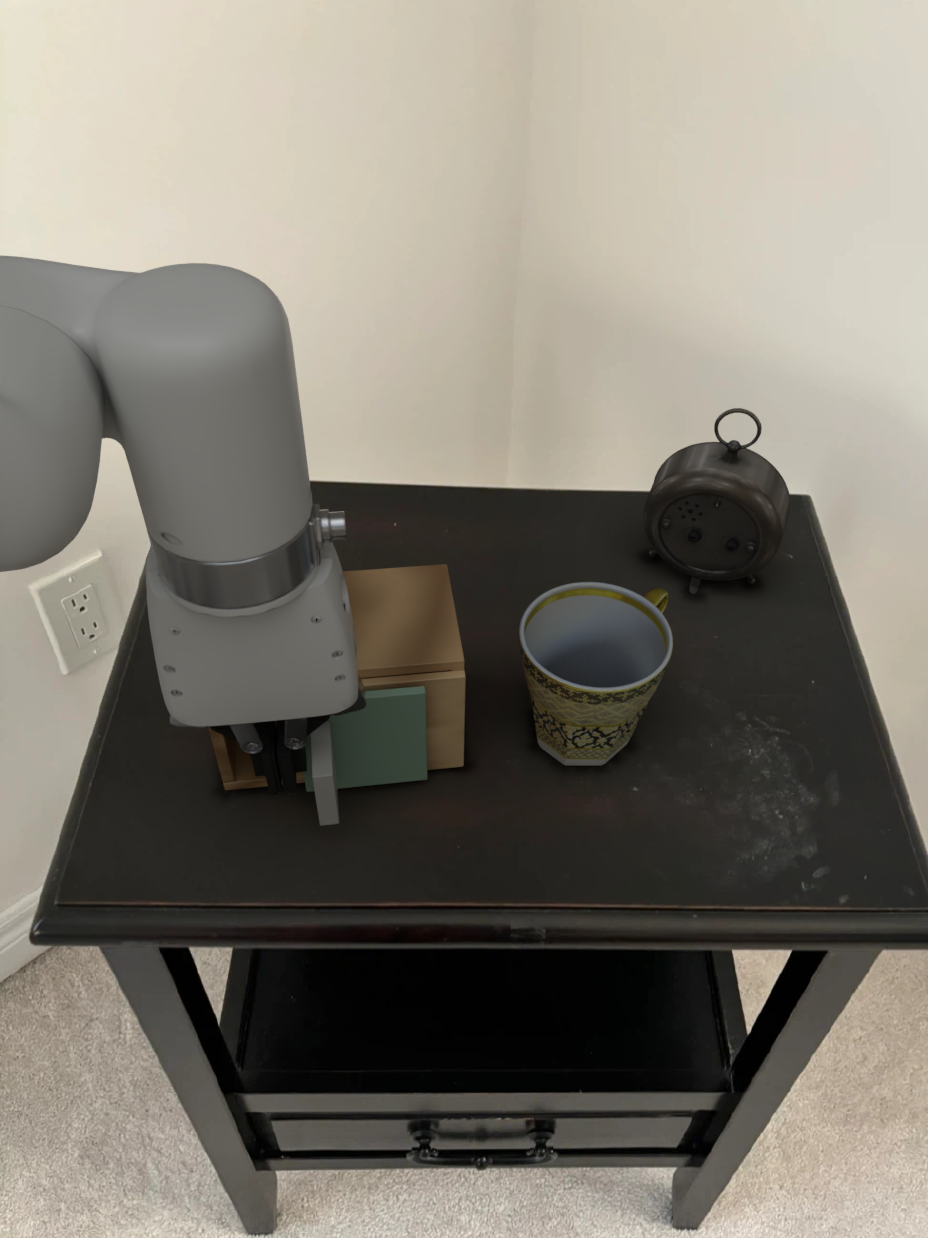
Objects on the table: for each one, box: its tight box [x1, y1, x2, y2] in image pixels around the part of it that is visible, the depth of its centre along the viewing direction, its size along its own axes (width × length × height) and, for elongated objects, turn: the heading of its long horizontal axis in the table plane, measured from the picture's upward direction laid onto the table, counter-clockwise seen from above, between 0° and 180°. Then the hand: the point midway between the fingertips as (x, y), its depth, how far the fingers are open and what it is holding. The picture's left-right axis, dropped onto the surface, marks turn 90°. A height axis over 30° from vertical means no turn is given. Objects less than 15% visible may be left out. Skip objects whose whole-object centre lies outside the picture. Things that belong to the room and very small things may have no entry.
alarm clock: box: [642, 407, 791, 595], centre depth 79 cm, size 11×5×16 cm, turn 71°
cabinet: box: [207, 563, 467, 791], centre depth 69 cm, size 16×10×11 cm, turn 99°
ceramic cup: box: [518, 581, 674, 767], centre depth 71 cm, size 13×10×10 cm
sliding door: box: [303, 686, 428, 826], centre depth 64 cm, size 8×5×9 cm, turn 99°
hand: (283, 775), depth 62 cm, fingers closed
